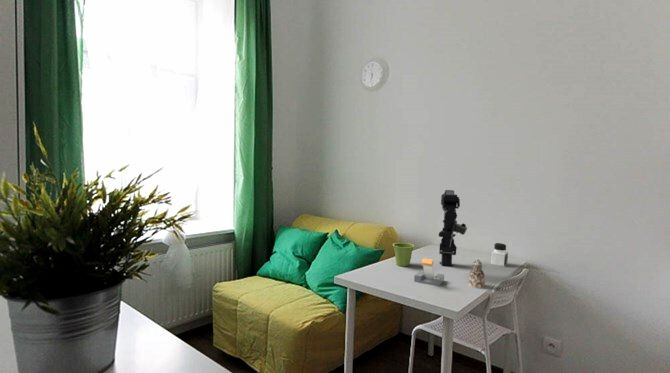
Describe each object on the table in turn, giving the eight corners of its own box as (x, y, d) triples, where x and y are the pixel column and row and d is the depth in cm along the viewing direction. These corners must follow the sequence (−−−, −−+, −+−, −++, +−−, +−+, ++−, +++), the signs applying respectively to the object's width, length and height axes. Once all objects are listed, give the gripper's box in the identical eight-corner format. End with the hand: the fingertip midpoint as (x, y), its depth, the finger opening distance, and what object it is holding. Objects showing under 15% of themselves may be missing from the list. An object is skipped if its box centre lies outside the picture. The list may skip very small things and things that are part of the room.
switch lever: (425, 273, 183) (422, 258, 178) (435, 275, 181) (433, 259, 175) (424, 277, 181) (421, 262, 176) (433, 279, 179) (431, 264, 173)
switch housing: (420, 276, 188) (420, 270, 187) (444, 280, 181) (444, 274, 181) (414, 281, 180) (414, 274, 180) (439, 286, 174) (439, 279, 173)
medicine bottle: (504, 266, 208) (505, 245, 207) (490, 264, 212) (492, 243, 211) (507, 264, 213) (508, 243, 212) (494, 261, 218) (495, 241, 217)
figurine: (466, 286, 175) (467, 260, 174) (470, 282, 181) (471, 257, 180) (482, 289, 171) (484, 263, 170) (486, 285, 177) (487, 260, 176)
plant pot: (412, 262, 213) (413, 242, 212) (414, 268, 201) (415, 247, 200) (391, 261, 214) (392, 242, 213) (392, 267, 202) (393, 246, 201)
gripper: (462, 222, 180) (460, 254, 182) (469, 217, 196) (468, 246, 198) (439, 220, 186) (437, 251, 187) (448, 215, 202) (446, 244, 203)
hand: (448, 248), depth 194 cm, fingers closed
